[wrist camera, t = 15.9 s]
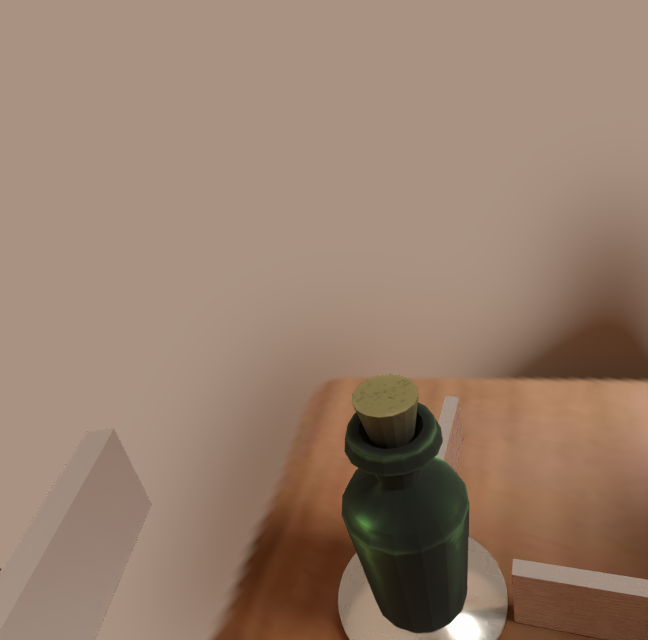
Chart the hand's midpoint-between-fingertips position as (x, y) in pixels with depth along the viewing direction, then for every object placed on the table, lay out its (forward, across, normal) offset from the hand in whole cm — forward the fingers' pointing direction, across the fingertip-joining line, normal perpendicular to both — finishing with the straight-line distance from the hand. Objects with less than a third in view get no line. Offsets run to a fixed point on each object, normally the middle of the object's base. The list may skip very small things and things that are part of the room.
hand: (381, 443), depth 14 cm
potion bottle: (+16, -2, -29) cm, 34 cm away
